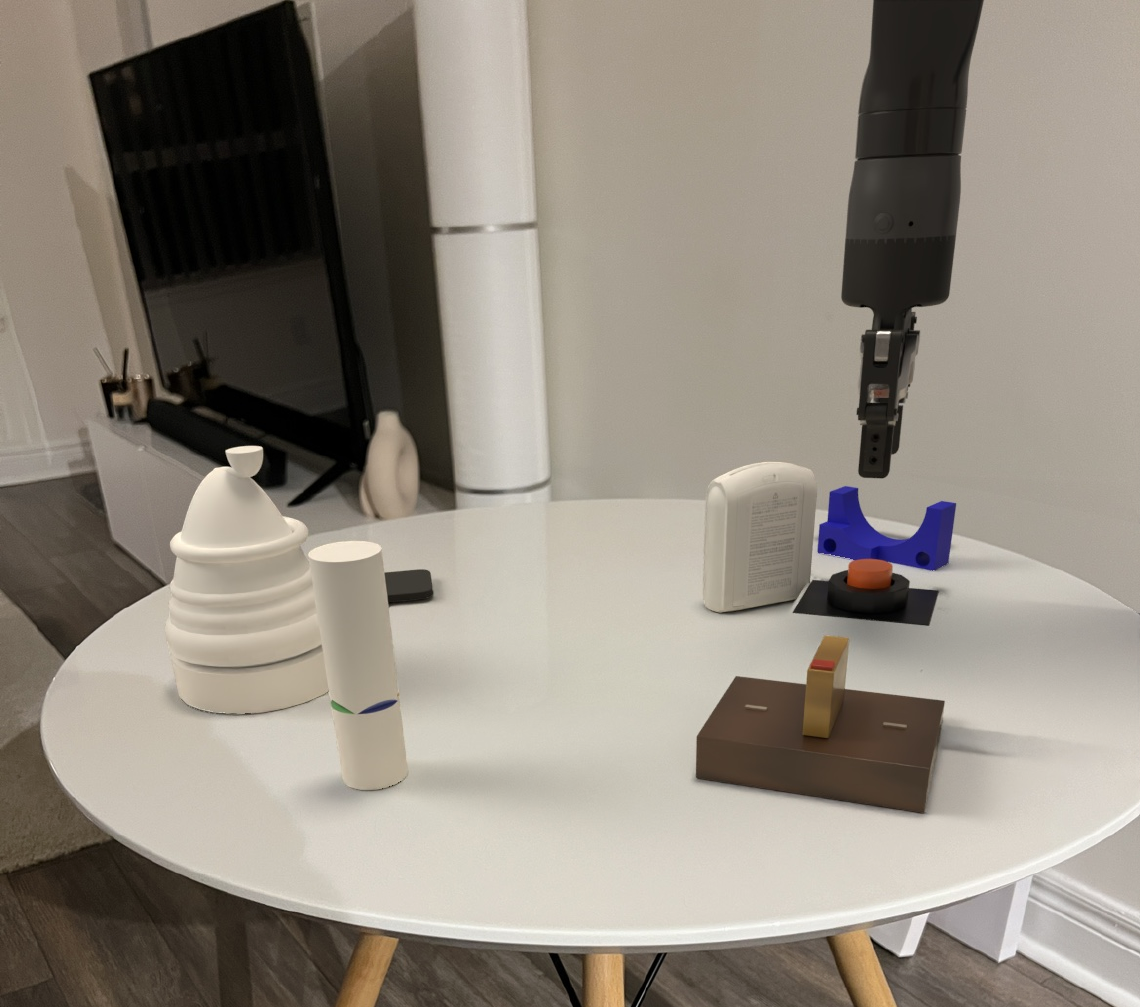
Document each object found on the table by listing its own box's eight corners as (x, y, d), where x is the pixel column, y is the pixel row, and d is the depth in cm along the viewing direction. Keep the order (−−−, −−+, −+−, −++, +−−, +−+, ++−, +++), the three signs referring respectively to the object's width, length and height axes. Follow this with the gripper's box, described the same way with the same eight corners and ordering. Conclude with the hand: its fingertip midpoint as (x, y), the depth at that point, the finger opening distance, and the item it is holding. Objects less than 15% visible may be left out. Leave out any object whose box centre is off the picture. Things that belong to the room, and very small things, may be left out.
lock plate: (939, 741, 72) (945, 698, 70) (924, 813, 63) (930, 766, 62) (734, 714, 76) (735, 673, 75) (695, 778, 68) (696, 733, 67)
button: (893, 580, 92) (895, 560, 91) (887, 593, 89) (889, 573, 88) (850, 576, 93) (852, 557, 92) (843, 589, 90) (845, 569, 89)
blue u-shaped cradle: (817, 553, 110) (821, 494, 107) (840, 543, 112) (845, 485, 110) (926, 575, 102) (934, 513, 99) (948, 564, 105) (956, 503, 102)
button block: (936, 608, 94) (941, 570, 92) (926, 644, 87) (931, 603, 85) (810, 597, 98) (813, 560, 96) (791, 631, 91) (793, 591, 89)
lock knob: (819, 697, 71) (824, 631, 69) (844, 700, 71) (849, 633, 69) (802, 735, 66) (807, 665, 64) (828, 738, 66) (834, 668, 64)
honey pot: (370, 655, 89) (341, 432, 81) (295, 721, 78) (252, 471, 70) (234, 645, 92) (192, 430, 84) (143, 706, 81) (85, 466, 73)
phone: (276, 582, 105) (429, 567, 107) (277, 590, 105) (430, 576, 107) (269, 606, 98) (433, 591, 100) (271, 615, 99) (434, 599, 100)
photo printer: (789, 585, 101) (797, 452, 95) (816, 598, 97) (827, 460, 92) (694, 604, 97) (697, 466, 92) (720, 618, 94) (724, 476, 88)
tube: (352, 758, 72) (321, 541, 65) (414, 759, 72) (389, 540, 65) (333, 789, 69) (298, 562, 62) (399, 790, 68) (370, 562, 61)
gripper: (952, 233, 68) (923, 488, 76) (960, 226, 80) (934, 447, 88) (832, 237, 71) (816, 484, 78) (857, 229, 82) (841, 444, 90)
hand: (878, 464), depth 83 cm, fingers open, 8 cm apart
